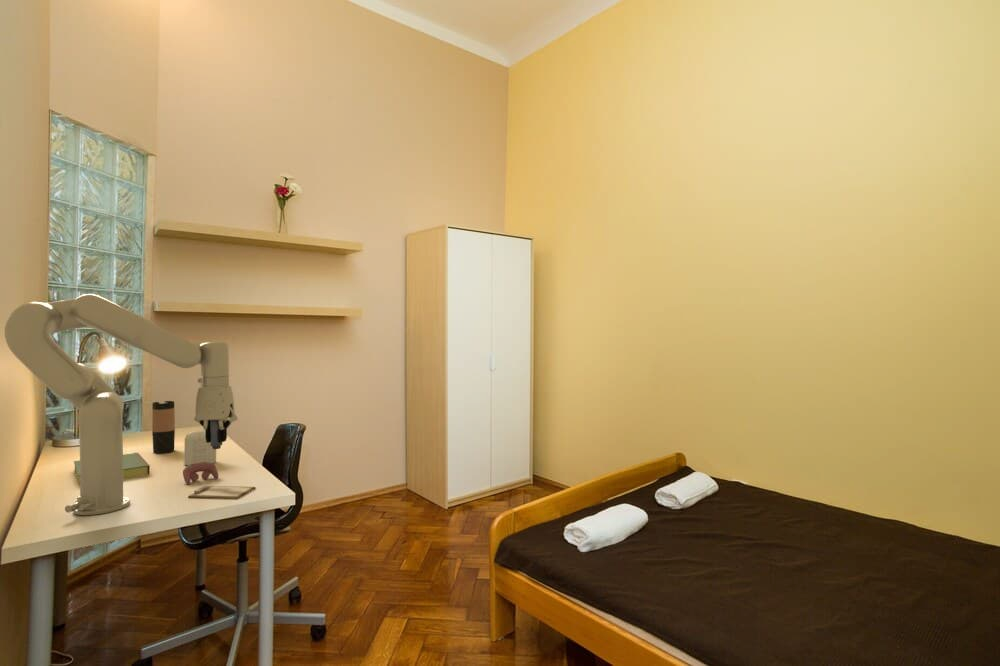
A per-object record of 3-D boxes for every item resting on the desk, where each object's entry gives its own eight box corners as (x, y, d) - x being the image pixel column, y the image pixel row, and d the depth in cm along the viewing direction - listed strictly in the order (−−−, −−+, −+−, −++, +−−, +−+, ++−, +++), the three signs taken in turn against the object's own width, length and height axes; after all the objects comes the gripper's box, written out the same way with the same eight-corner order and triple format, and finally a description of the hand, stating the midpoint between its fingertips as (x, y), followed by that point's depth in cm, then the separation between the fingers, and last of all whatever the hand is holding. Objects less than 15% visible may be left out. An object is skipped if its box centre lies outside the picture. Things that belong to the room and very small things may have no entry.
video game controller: (216, 481, 176) (213, 461, 178) (220, 477, 173) (217, 457, 175) (182, 488, 169) (180, 466, 171) (186, 484, 166) (183, 462, 168)
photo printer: (217, 461, 196) (216, 428, 196) (215, 463, 192) (215, 430, 192) (185, 464, 192) (185, 430, 192) (183, 466, 188) (183, 432, 188)
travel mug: (167, 453, 207) (166, 403, 207) (147, 453, 207) (147, 403, 207) (179, 449, 215) (178, 400, 215) (160, 449, 215) (160, 400, 215)
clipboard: (237, 499, 153) (237, 494, 153) (188, 497, 154) (188, 493, 154) (255, 488, 163) (255, 484, 163) (209, 487, 164) (209, 483, 164)
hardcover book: (149, 476, 178) (149, 465, 178) (79, 487, 166) (79, 475, 166) (137, 462, 197) (137, 452, 197) (73, 471, 184) (73, 460, 184)
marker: (218, 449, 159) (217, 413, 159) (207, 449, 159) (207, 413, 159) (225, 447, 162) (224, 411, 162) (214, 447, 163) (214, 411, 162)
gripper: (181, 383, 157) (182, 444, 157) (233, 383, 156) (234, 444, 156) (197, 380, 165) (198, 439, 165) (247, 380, 163) (248, 439, 164)
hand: (216, 441), depth 161 cm, fingers closed on marker, 3 cm apart
